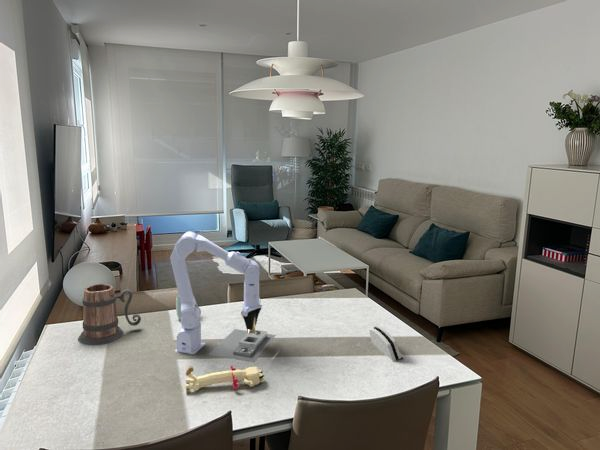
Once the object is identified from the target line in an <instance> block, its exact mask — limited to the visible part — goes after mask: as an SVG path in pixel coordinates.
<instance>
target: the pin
mask: <svg viewBox="0 0 600 450" xmlns="http://www.w3.org/2000/svg"><path fill="white" fill-rule="evenodd" d="M255 330H256V326H255V318H254V324H253V329H252V330H248V329H247V328H246V331H247V332H248V333H255Z"/></svg>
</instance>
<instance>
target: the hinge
mask: <svg viewBox="0 0 600 450" xmlns="http://www.w3.org/2000/svg"><path fill="white" fill-rule="evenodd" d="M368 332H369V336H370V340H371V343H372V344H373V346H375V347H376V348H377V349H379V350H380V351H381V352H382V353H383V354H384V355H385V356H386V357H387V358H388V359H390V360H391V361H392V362H396V361H397V359H399V360H400V359H402V360H405V357H404V355H403V354H402V353H401V351H400V348H399V346H398V343H397V341H396V339H395V338H394V337H393V336H392V335H391V334H390V332H388V331H387V330H386V329H385V328H383V327H382V326H379V325H375V326H374V327H371V328H370V329H369V330H368Z"/></svg>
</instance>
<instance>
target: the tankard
mask: <svg viewBox="0 0 600 450" xmlns="http://www.w3.org/2000/svg"><path fill="white" fill-rule="evenodd" d="M83 292H84V293H83V297H82V305H83V306H82V307H83V308H82V314H83V318H82V319H83V321H82V329H83V331H82V332H80V335H79V336H78V337H77V342H78V343H79V344H80V345H81V344H82V345H85V346H91V347H92V346H103V345H108V344H112V343H115V342H117V341H119V340H120V339H122V338H123V336H124V335H125V332H124V330H122V328H121V327H120V326H119V318H118V312H117V304H116V303H117V302H116V300H117V299H119V300H120V301H121V302H122V303H125V302H126V303H125V305H124V317H125V319H126V322H127V323H128V324H129V326H131V327H132V326H133V327H135V326H137V325H139V324H140V323H141V321H142V318H141V315H140V314H139V313H135V314H133V315H132V320H133V321H131V320H130V319H129V315H128V309H129V306H130V303H131V301H132V299H133V294H132V291H131V290H130V289H122V290H121V292H120V293H119V294H118V295H116V294H115V291H114V287H113V285H111V284H105V283H96V284H93V285H90V286H88V287H86V288H84V291H83ZM126 293H127V294H128V293H129V296H128V299H127V301H126V300H125V294H126Z"/></svg>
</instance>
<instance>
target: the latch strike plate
mask: <svg viewBox="0 0 600 450" xmlns="http://www.w3.org/2000/svg"><path fill="white" fill-rule="evenodd" d="M268 334H269V332H268V331H266V330H265V331H264V330H260V329H255V333H247V334H246V335H245V336H244V337H243V338H242V339H241V341H240V342H239V346H238V347H237V348H236V349H235V350H234V351H233V355H239V356H246V357H252V355H253V354H254V353H255V352H256V351H257V349H258V348H259V347H260V346H261V345H262V343H263V342H264V341H265V340H266V338H267V335H268Z"/></svg>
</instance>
